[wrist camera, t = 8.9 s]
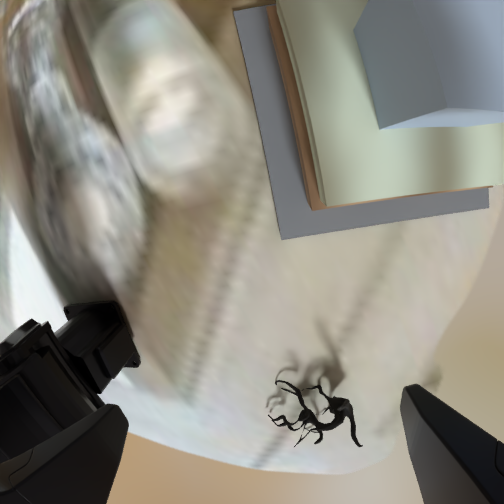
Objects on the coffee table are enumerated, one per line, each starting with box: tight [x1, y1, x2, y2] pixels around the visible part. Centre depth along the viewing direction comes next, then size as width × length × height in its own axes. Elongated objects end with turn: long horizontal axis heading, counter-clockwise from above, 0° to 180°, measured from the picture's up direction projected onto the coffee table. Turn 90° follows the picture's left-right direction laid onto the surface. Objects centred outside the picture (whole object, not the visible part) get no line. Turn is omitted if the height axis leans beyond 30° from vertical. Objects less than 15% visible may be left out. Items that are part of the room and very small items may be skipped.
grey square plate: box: [233, 4, 489, 240], centre depth 16 cm, size 16×16×1 cm
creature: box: [268, 380, 363, 447], centre depth 21 cm, size 8×5×8 cm
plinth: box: [266, 0, 504, 211], centre depth 13 cm, size 12×12×6 cm
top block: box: [353, 0, 504, 130], centre depth 7 cm, size 5×5×6 cm
